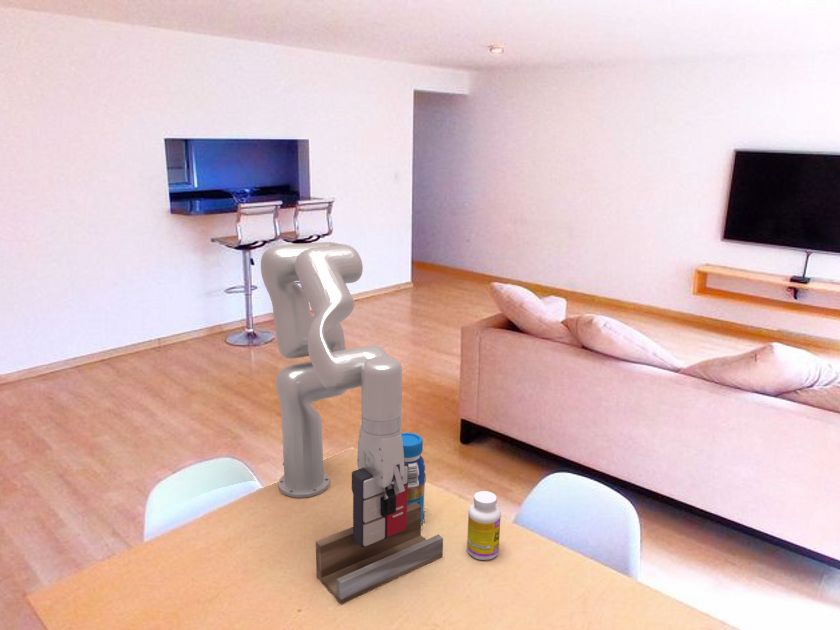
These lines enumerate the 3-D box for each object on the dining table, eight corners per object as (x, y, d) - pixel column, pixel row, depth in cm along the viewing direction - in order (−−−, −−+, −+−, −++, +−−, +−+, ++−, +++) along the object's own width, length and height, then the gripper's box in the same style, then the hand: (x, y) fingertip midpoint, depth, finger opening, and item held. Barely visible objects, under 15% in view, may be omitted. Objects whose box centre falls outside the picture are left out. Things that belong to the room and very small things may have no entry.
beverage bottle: (381, 524, 142) (381, 442, 136) (397, 505, 149) (397, 427, 144) (416, 533, 138) (417, 450, 133) (430, 513, 146) (432, 434, 141)
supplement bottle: (497, 563, 129) (500, 507, 126) (464, 559, 130) (467, 503, 127) (499, 544, 135) (502, 490, 132) (469, 540, 136) (471, 486, 133)
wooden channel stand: (316, 577, 124) (315, 541, 122) (415, 534, 138) (415, 502, 136) (341, 604, 117) (340, 566, 115) (442, 556, 131) (443, 522, 129)
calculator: (362, 550, 121) (363, 481, 117) (351, 539, 124) (351, 471, 120) (409, 530, 127) (411, 464, 123) (396, 520, 131) (398, 455, 126)
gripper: (341, 412, 123) (343, 496, 128) (390, 444, 111) (389, 536, 115) (374, 403, 128) (374, 485, 132) (424, 433, 115) (422, 522, 120)
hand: (381, 508), depth 124 cm, fingers closed on calculator, 3 cm apart
